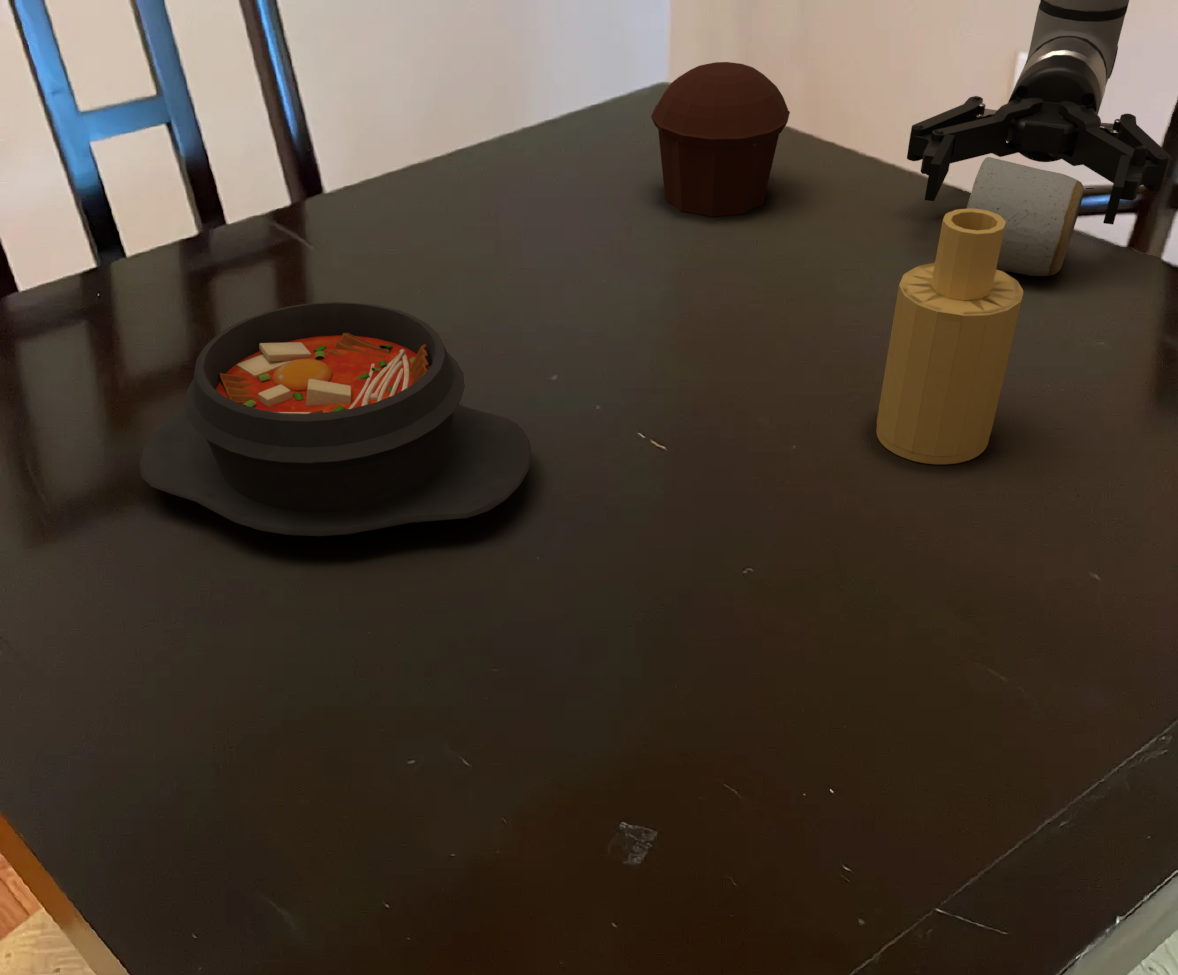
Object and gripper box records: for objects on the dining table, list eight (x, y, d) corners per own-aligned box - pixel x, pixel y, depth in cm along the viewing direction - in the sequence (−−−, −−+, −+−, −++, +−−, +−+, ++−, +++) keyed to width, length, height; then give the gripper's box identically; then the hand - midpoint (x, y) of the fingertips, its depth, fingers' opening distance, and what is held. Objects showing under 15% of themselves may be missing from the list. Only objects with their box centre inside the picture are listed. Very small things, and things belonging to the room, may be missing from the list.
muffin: (691, 233, 112) (697, 102, 105) (625, 187, 119) (627, 62, 111) (808, 204, 116) (822, 76, 108) (737, 162, 122) (746, 39, 115)
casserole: (558, 423, 91) (555, 301, 85) (496, 583, 79) (487, 454, 72) (210, 392, 94) (182, 273, 88) (97, 541, 82) (56, 415, 76)
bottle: (995, 418, 91) (1045, 205, 81) (979, 473, 86) (1029, 254, 76) (888, 400, 93) (923, 189, 83) (865, 453, 88) (900, 236, 78)
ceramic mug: (1055, 295, 103) (1082, 190, 98) (949, 279, 105) (969, 175, 100) (1072, 243, 110) (1098, 143, 105) (973, 229, 112) (993, 130, 107)
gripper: (1192, 165, 116) (1176, 266, 102) (905, 131, 122) (853, 222, 108) (1221, 69, 110) (1208, 162, 97) (919, 38, 116) (867, 121, 103)
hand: (1021, 194), depth 102 cm, fingers open, 13 cm apart
